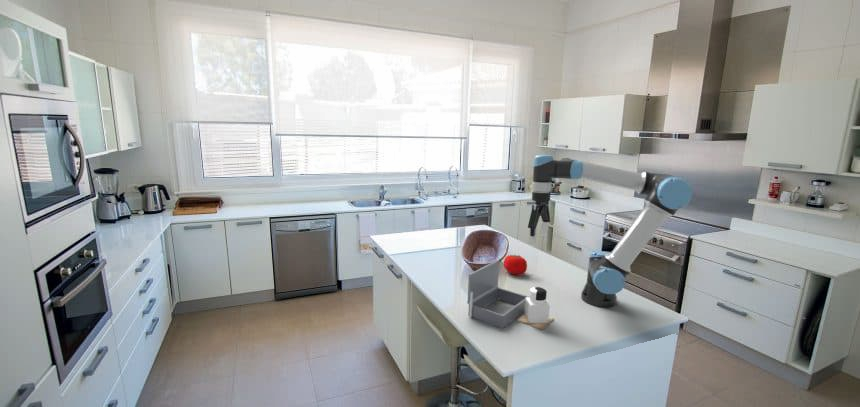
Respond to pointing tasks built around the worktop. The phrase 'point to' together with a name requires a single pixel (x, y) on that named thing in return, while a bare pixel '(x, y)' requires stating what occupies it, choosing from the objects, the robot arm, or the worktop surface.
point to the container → (537, 306)
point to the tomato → (515, 264)
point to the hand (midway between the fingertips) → (538, 239)
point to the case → (491, 296)
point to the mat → (537, 325)
